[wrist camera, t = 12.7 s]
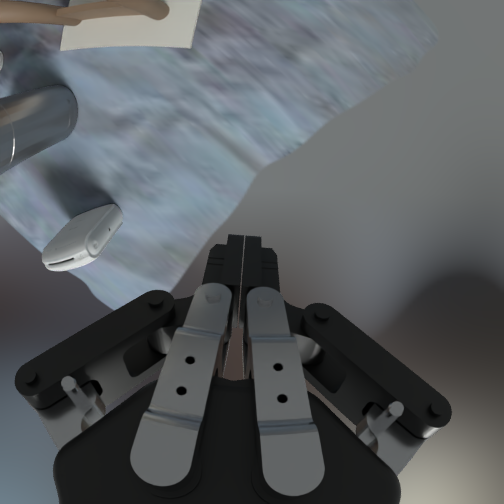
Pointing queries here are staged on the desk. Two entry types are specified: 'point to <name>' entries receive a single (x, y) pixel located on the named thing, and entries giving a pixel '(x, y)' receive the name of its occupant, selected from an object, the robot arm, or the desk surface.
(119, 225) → the photo printer
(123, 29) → the white board with posts
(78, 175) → the desk surface
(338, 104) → the desk surface
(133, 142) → the desk surface
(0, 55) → the chess piece
